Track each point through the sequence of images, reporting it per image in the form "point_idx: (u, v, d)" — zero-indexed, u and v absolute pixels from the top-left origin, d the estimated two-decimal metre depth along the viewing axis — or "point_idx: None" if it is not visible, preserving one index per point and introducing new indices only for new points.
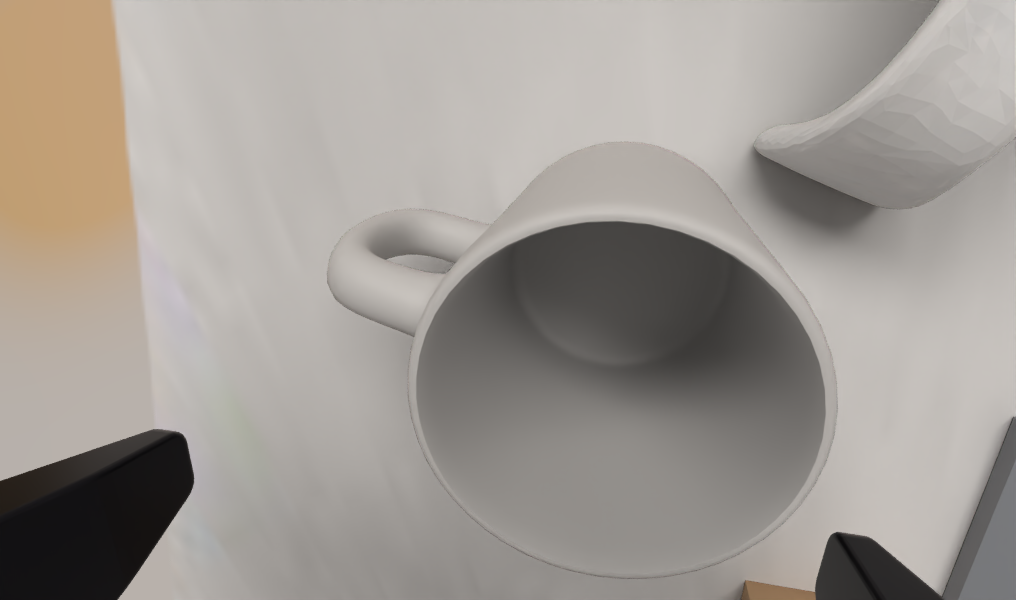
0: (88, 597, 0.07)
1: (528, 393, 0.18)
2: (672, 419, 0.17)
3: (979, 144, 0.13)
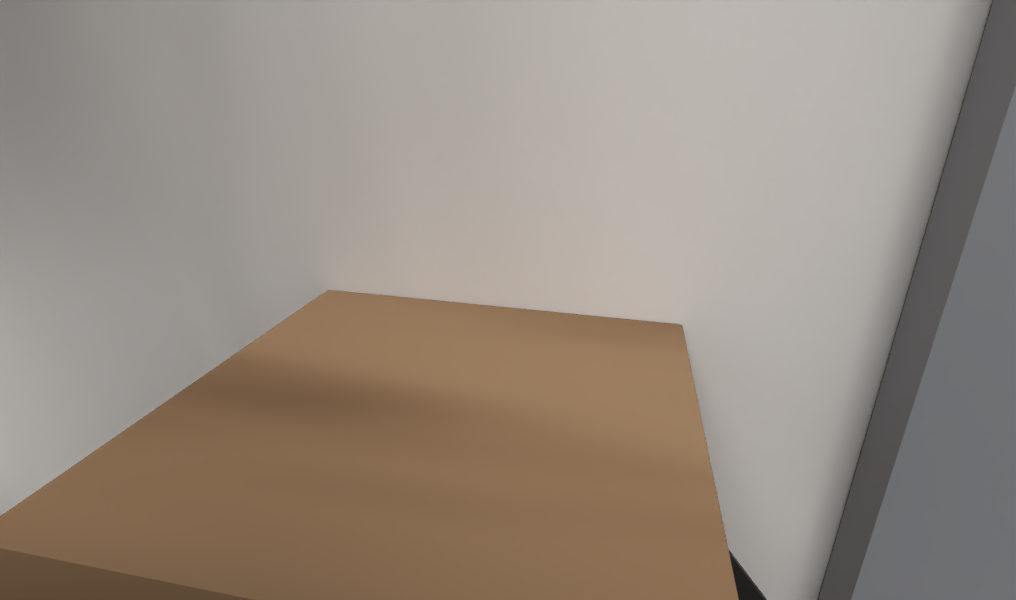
0: None
1: None
2: None
3: None
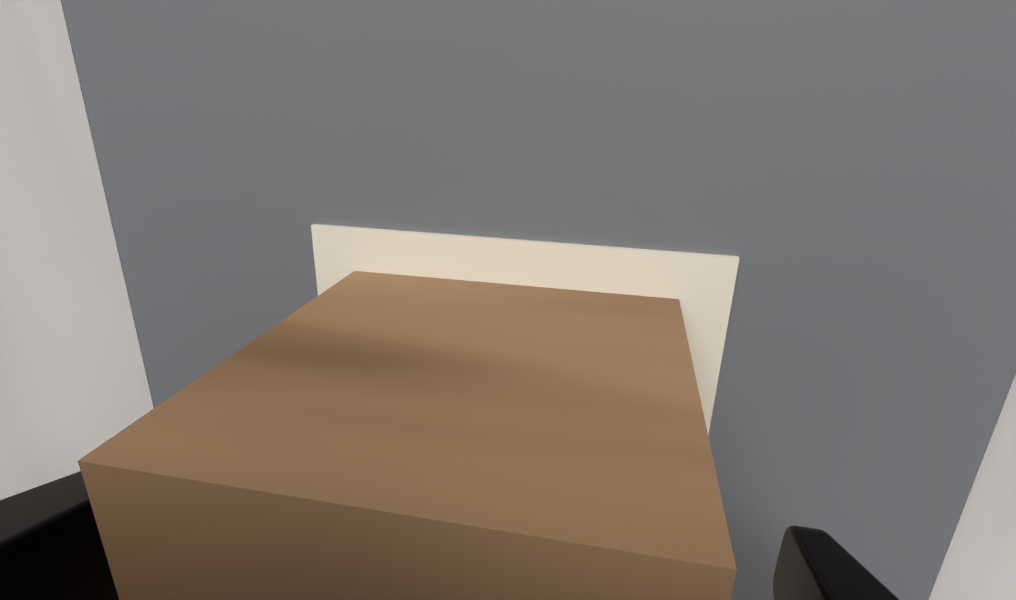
0: None
1: None
2: None
3: None
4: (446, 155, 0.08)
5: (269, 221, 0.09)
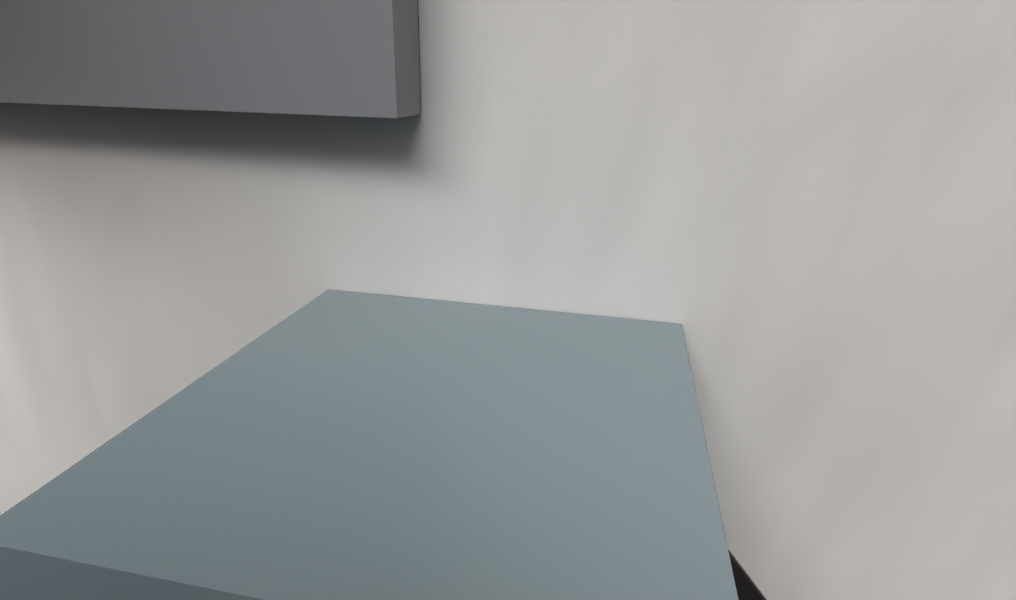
0: None
1: None
2: None
3: None
4: None
5: None
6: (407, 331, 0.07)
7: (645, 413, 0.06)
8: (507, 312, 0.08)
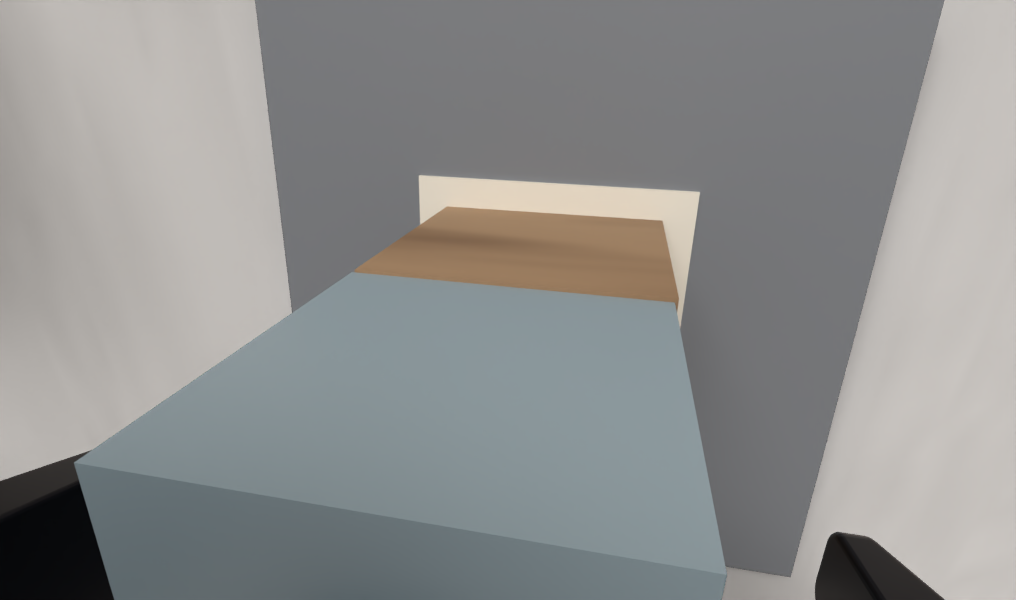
0: (88, 597, 0.07)
1: None
2: None
3: None
4: (512, 128, 0.13)
5: (389, 173, 0.14)
6: (426, 307, 0.08)
7: (640, 374, 0.06)
8: (516, 292, 0.09)
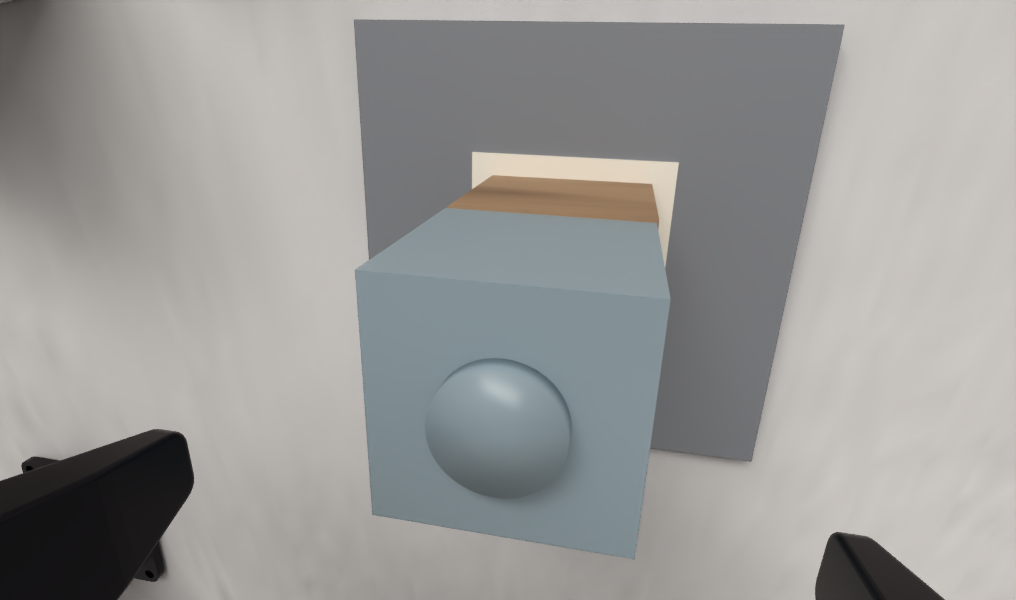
0: (88, 597, 0.07)
1: None
2: None
3: None
4: (542, 116, 0.18)
5: (449, 151, 0.19)
6: (502, 222, 0.13)
7: (634, 248, 0.11)
8: (555, 217, 0.13)
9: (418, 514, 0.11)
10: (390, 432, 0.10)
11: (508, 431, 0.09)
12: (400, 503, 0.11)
